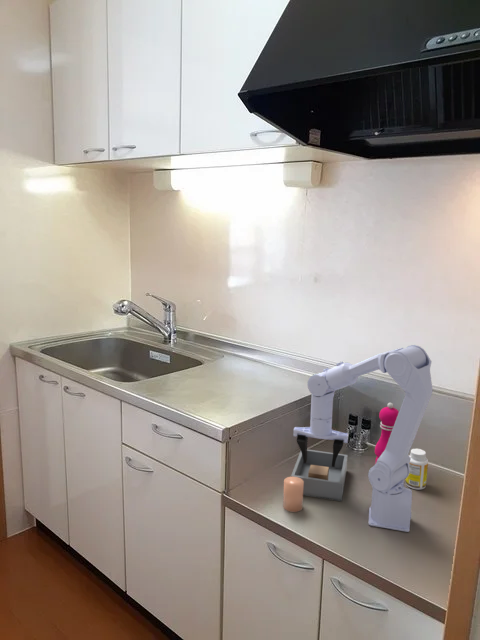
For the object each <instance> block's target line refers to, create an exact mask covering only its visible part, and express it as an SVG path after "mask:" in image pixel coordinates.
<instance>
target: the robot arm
mask: <svg viewBox="0 0 480 640" xmlns="http://www.w3.org/2000/svg"><path fill="white" fill-rule="evenodd" d="M430 358H431V357H429V355H428V354H427V351H426V350H425V349H424V348H423V347H422V346H419V345H416V344H411V345H408V346H407V347H399V348H396V349H391V350H387V351H384V352H380V353H378V354H375V355H373V356H370V357H369V358H366V359H364V360H362V361H359V362H357V363H354V364H353V363H350V362H344V361H340V362H337V363H335V365H336V366H334V367H330V368H328V367H327V368H324V369H322V372H319V373H315V374H312V375H311V376H310V377H309V378H308V380H307V388H308V391H309V393H310V394H311V401H310V422H309V424H310V425H309V426H305V427H304V426H303V427H300V426H295V427H293V434H292V436H293V437H295V438H296V444H297V445H298V447H299V449H300V451H301V453H302V456H303V463H306V461H307V449H308V441H309V438H312V439H313V438H314V439H320V440H327V441H328V440H329V441H333V444H332V453H333V459H332V467H335V461H336V458H337V456H338V454H340V452H341V450H342V448H343V447H344V444H348V442H349V433H348V432H342V431H338V430H334V429H333V428H332V427H333V408H334V397H335V392H336V391H338V390H341V389H344V388H346V387H350V386H352V385H354V384H356V383H357V381H358V379H359V377H360V376H364V375H366V374H369V373H372V372H375V371H378V370H379V371H380V372H381V373H383V374H388V376H390V377H391V378H392V379H393V380H394V381H395V383H396V384H397V385H398V386H399V387H400V388H401V389H402V390H403V391H404V397H403V400H402V403H401V406H400V407H399V410H398V411H399V413H398V416H397V419H396V421H395V424H394V427H393V430H392V432H391V435H390V438H389V440H388V443H387V446H386V448H385V450H384V452H383V453H382V454H381V456H380V457H379V458H378V460H377V462H376V464H375V463H374V465H373V466H372V467H370V469H369V470H368V472H367V473H368V474H367V476H368V477H367V478H368V481H369V483H370V485H371V489H372V491H371V505H370V506H369V508H368V509H369V510H368V523H367V524H368V525H369V526H370V527H377V528H383V529H388V530H394V531H400V532H406V533H407V532H408V533H409V532H410V530H411V529H410V525H411V520H412V503H413V502H412V501H413V491H412V490H413V489H412V488H411V489H410V488H409V487H408V488H407V487H405V480H406V478H407V477H408V476H409V472H410V469H409V462H410V460H411V458H410V456H409V455H410V452H411V450H412V445H413V443H414V442H415V439H416V436H417V433H418V430H419V428H420V425H421V424H422V421H423V417H424V416H425V413H426V411H427V408H428V405H429V403H430V400H431V397H432V395H433V391H434V390H433V383H432V376H431V365H432V360H431V359H430Z"/></svg>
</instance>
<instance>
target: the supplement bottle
mask: <svg viewBox="0 0 480 640" xmlns="http://www.w3.org/2000/svg"><path fill="white" fill-rule="evenodd" d="M426 454H427V452H426V451H425V450H424V449H421V448H411V449H410V452H409V454H408V455H409V456H410V458H411V460H410V462H409V469H410V472H409V476H408V477H407V478H406V479H404V484H405V485H406V487H408V488H409V489H410V488H411V490H417V491H418V490H419V491H421V490H424V489H425V488H426V486H427V481H428V480H427V479H428V466H429V459H428V458H427V457H426Z"/></svg>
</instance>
